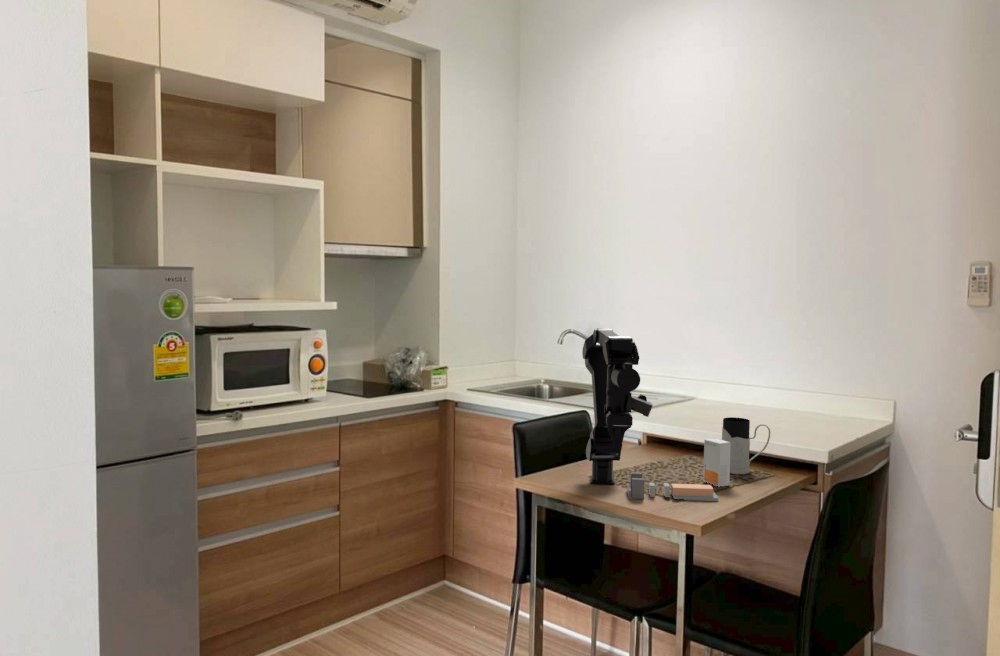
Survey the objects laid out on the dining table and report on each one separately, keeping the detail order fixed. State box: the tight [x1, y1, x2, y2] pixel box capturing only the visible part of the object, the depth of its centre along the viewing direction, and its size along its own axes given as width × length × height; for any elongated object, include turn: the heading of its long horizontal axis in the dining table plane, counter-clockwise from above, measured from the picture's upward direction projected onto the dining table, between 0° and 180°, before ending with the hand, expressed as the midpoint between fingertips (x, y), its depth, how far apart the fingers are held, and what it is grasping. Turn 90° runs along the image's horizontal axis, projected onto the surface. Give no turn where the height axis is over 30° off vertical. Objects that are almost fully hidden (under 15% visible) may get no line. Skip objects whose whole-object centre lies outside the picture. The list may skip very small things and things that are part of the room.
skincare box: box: [702, 437, 731, 488], centre depth 213 cm, size 6×4×12 cm
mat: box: [670, 491, 719, 502], centre depth 199 cm, size 6×11×1 cm, turn 84°
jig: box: [626, 471, 671, 500], centre depth 201 cm, size 7×10×5 cm
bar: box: [670, 483, 714, 497], centre depth 200 cm, size 4×10×2 cm, turn 85°
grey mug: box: [721, 416, 771, 475], centre depth 228 cm, size 9×14×15 cm, turn 87°
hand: (617, 447), depth 197 cm, fingers open, 9 cm apart
